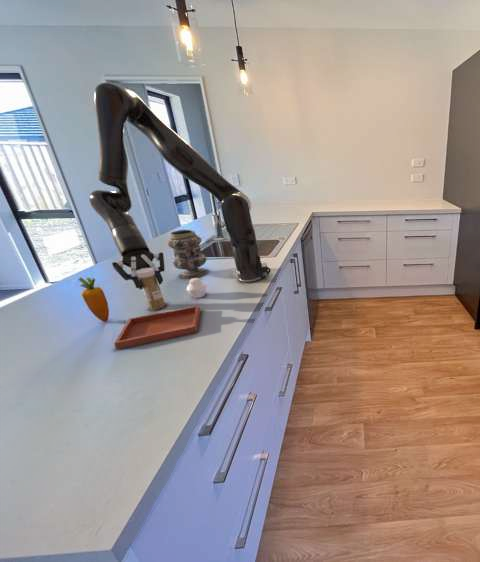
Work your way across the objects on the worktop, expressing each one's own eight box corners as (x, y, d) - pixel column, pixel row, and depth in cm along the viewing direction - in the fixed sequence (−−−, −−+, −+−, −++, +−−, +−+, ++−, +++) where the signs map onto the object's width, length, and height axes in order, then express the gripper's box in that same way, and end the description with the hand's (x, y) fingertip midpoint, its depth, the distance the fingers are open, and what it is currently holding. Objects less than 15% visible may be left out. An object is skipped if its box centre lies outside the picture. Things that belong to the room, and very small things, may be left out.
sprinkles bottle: (166, 307, 99) (153, 270, 94) (149, 311, 97) (135, 273, 91) (166, 302, 103) (153, 266, 97) (150, 306, 100) (135, 269, 95)
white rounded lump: (211, 295, 107) (206, 277, 104) (193, 301, 103) (187, 283, 100) (205, 290, 111) (200, 273, 108) (186, 296, 107) (181, 278, 104)
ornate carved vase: (215, 271, 128) (204, 230, 120) (186, 281, 119) (173, 237, 111) (199, 266, 134) (188, 226, 126) (171, 275, 125) (157, 233, 117)
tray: (200, 310, 97) (198, 305, 96) (196, 332, 86) (194, 326, 85) (131, 324, 90) (128, 318, 89) (116, 349, 79) (114, 343, 78)
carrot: (119, 319, 93) (100, 274, 87) (102, 327, 89) (80, 281, 83) (109, 316, 95) (89, 273, 88) (91, 324, 90) (69, 279, 84)
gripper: (99, 240, 90) (121, 287, 88) (155, 230, 100) (176, 273, 97) (104, 253, 96) (124, 298, 93) (156, 243, 105) (176, 283, 102)
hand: (151, 285), depth 95 cm, fingers closed on sprinkles bottle, 4 cm apart
